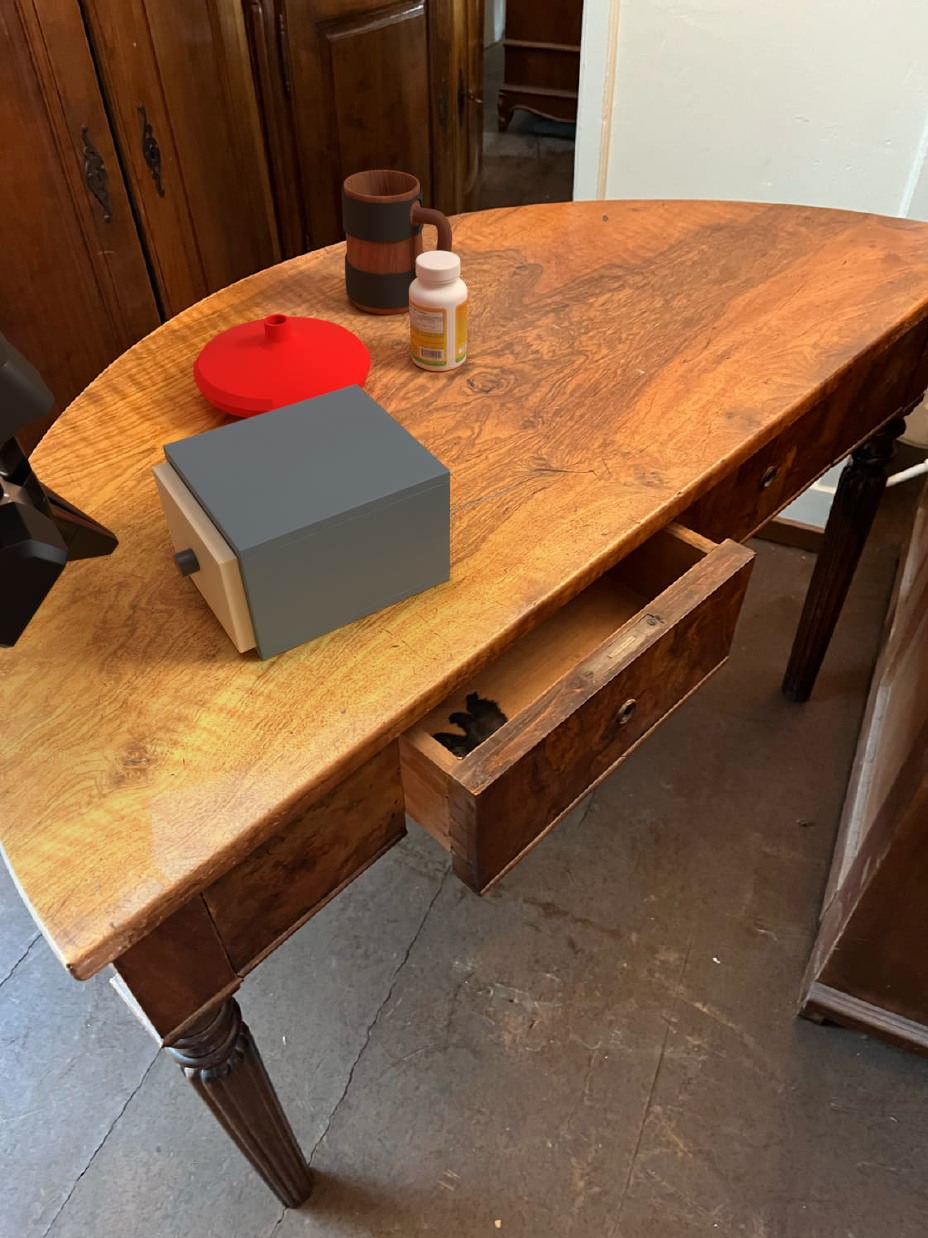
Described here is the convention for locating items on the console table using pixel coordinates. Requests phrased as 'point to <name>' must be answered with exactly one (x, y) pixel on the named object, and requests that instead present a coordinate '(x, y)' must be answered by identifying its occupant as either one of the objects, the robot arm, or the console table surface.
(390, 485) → the cabinet
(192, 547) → the drawer
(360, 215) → the mug
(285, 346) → the red squat vase
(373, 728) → the console table surface
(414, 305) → the supplement bottle
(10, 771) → the console table surface
